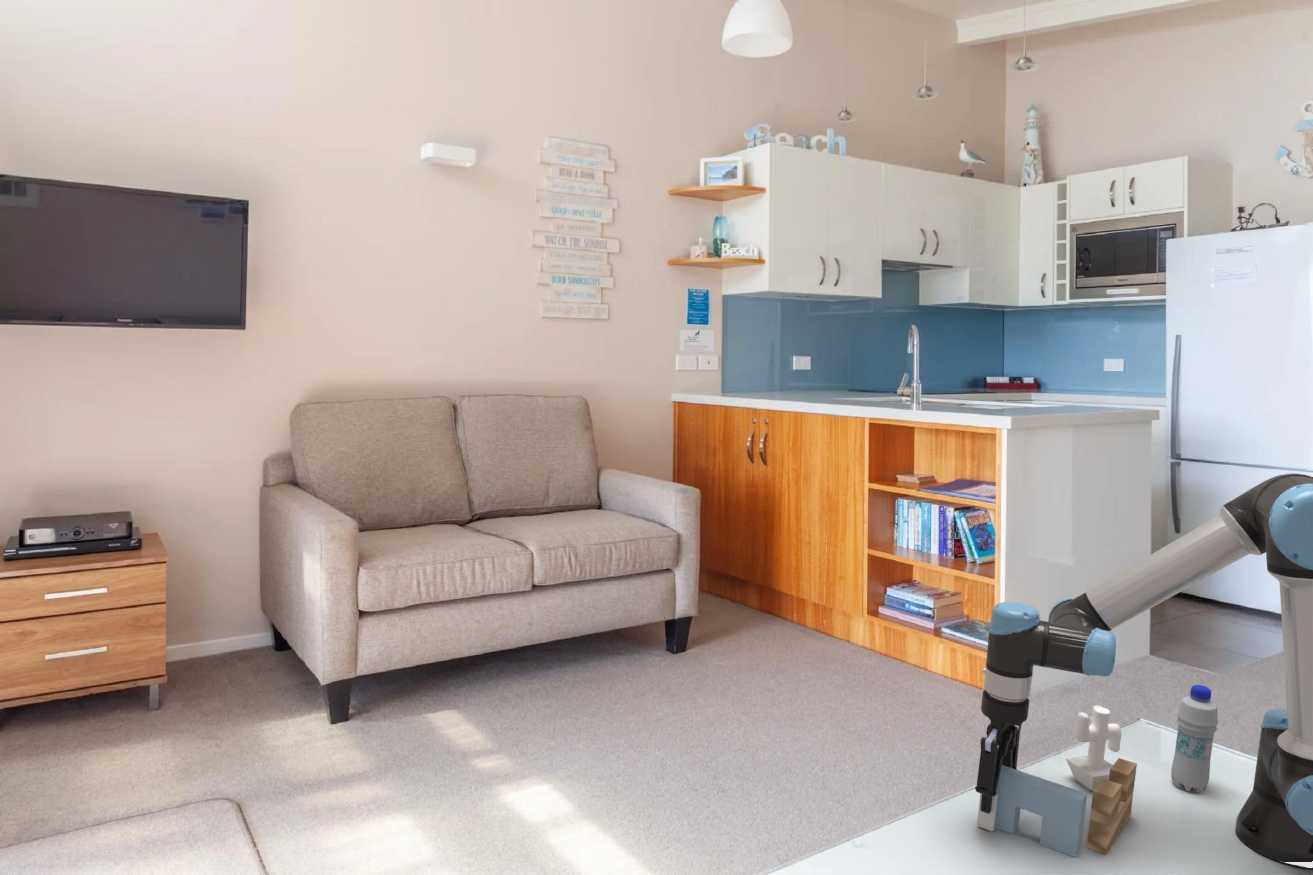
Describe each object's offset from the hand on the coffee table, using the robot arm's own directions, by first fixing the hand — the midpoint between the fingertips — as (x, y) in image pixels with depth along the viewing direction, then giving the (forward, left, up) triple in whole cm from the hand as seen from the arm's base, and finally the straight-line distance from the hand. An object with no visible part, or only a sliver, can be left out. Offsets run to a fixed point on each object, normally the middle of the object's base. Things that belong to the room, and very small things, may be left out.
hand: (992, 820), depth 169 cm
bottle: (-23, -39, 0) cm, 45 cm away
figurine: (-9, -27, -1) cm, 29 cm away
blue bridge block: (-6, 0, 0) cm, 6 cm away
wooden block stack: (-16, -11, 0) cm, 20 cm away
